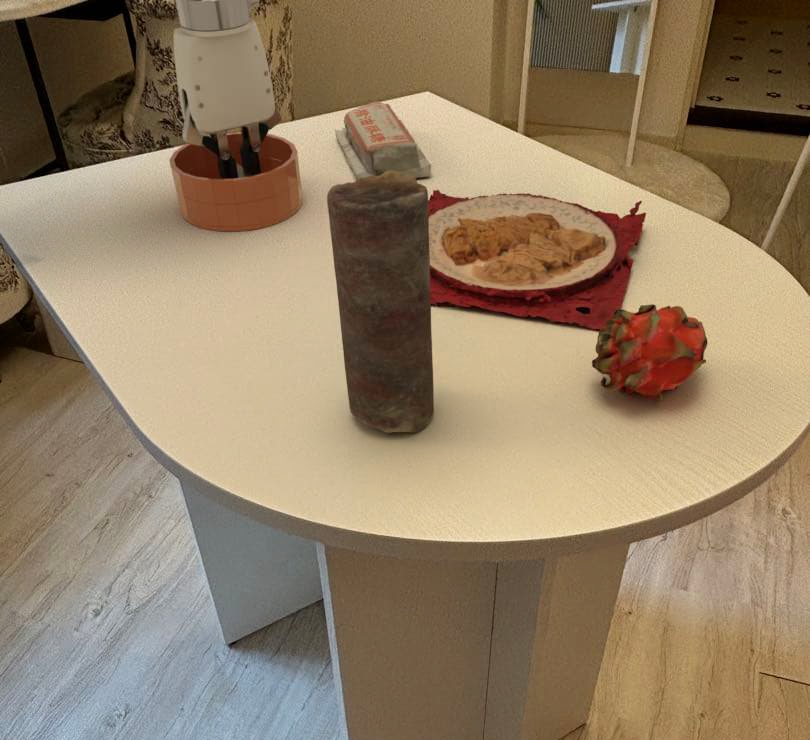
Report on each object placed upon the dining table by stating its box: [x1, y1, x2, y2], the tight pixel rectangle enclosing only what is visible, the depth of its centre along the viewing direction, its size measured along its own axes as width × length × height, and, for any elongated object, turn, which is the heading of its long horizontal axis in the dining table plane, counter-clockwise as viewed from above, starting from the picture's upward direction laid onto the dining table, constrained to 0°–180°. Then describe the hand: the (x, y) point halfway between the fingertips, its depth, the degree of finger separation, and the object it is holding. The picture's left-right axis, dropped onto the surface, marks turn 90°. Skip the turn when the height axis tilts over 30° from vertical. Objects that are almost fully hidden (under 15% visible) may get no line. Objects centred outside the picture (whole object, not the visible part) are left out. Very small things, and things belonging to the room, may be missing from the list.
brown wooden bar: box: [217, 162, 253, 178], centre depth 98 cm, size 10×2×2 cm, turn 33°
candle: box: [326, 170, 435, 434], centre depth 63 cm, size 8×7×20 cm
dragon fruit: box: [591, 303, 708, 404], centre depth 69 cm, size 8×8×12 cm
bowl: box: [169, 131, 303, 232], centre depth 98 cm, size 15×15×6 cm
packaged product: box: [334, 101, 432, 180], centre depth 108 cm, size 18×5×10 cm
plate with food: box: [428, 189, 647, 331], centre depth 87 cm, size 24×26×3 cm
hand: (242, 185), depth 98 cm, fingers closed on brown wooden bar, 2 cm apart
